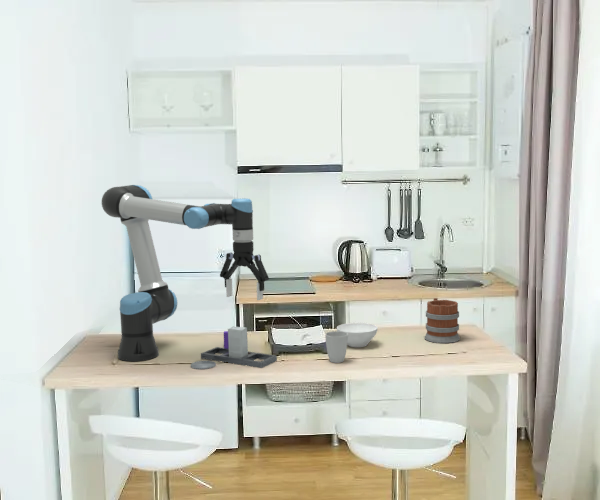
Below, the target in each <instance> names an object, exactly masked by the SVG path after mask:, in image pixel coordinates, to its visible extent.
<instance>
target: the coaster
mask: <svg viewBox="0 0 600 500" xmlns="http://www.w3.org/2000/svg"><path fill="white" fill-rule="evenodd" d="M216 366H217V363H216V361H214V360H197V361H194V362H192V363H190V368H191V369H194V370H208V369H213V368H215V367H216Z"/></svg>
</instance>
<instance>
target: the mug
mask: <svg viewBox="0 0 600 500" xmlns="http://www.w3.org/2000/svg"><path fill="white" fill-rule="evenodd" d="M458 304H459V303H458V302H457V301H456V300H455V301H454V300H449V299H438V297H433V300H428V301H427V302H426V306H427V307H426V311H425V317H426V323H425V329H426V333H425V335H424V339H425V340H426V341H427V342H430V343H432V344H433V343H436V344H453V343H457V342H458V341H460V339H461V337H460V335H459V333H458V331H459V330H460V324H459V322H458V320H459V319H458V318H460V311H459V305H458Z"/></svg>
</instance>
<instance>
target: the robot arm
mask: <svg viewBox="0 0 600 500" xmlns="http://www.w3.org/2000/svg"><path fill="white" fill-rule="evenodd" d="M101 197H102V198H101V207H102V209H103V211H104V212H105V213H106V215H108V216H110V217H112V218H117V219H118V218H119V219H120V222H121V224H122V225H123V226H125V227H126V231H127V234H128V235H127V236H128V240H129V244H130V247H131V251H132V256H133V260H134V264H135V268H136V271H137V275H138V279H139V283H140V284H139V285H140V287H139V289H138V290H137V291H136V292H132V293H128V294H125V295H123V296H122V298H121V299H120V302H119V314H120V330H121V331H120V332H121V339H120V342H119V346H118V349H117V358H118V359H119V360H120V361H124V362H140V361H141V362H142V361H148V360H152V359H154V358H157V357H158V356H159V355H160V354H159V353H160V351H159V346H157V343H156V338H155V337H154V332H153V331H154V328H153V326H154V325H153V324H157V323H158V322H161V321H165V320H168V319H169V318H170V317H172V316H173V315H174V314H175V313H176V310H177V308H178V298H177V295H176V294H175V292H173V291H172V290H171V289H170V288H169V285H168V283H167V282H166V281H164V280H163V277H162V272H161V269H160V266H159V261H158V257H157V253H156V249H155V245H154V240H153V236H152V232H151V227H150V224H149V221H156V222H163V223H169V224H177V225H181V226H187V227H188V228H189V229H192V230H200V229H204V228H208V227H212V226H216V225H231V226H232V241H233V242H232V251H233V252H227V253H226V255H225V256H226V257H225V261H224V263H223V266H222V269H221V271H220V274H219V277H220V278H222V279H224V288H226V293H225V294H226V298H230V297H233V278H232V276H233V274H234V273H235V271H236V270H237V268H238V267H244V268H245V267H247V269H249V270H250V271H251V273H252V275H253V276H254V277H255V279H256V280H257V282H256V300H257V301H260V300H263V299H264V297H263V295H264V292H263V291H265V282H267V281H269V280H270V277H269V275H268V273H267V270H266V268H265V266H264V263H263V261H262V256H261V255H260V254H256V255H254V249H255V248H254V241H253V240H254V227H253V225H254V224H253V223H254V222H253V218H254V217H253V216H254V215H253V212H254V210H253V201H252V199H250V198H245V197H244V198H243V197H242V198H233V199H232V200H231V203H215V202H213V203H205V204H204V205H201V206H199V205H192V204H188V203H187V204H186V203H181V202H180V203H179V202H172V201H167V200H166V201H165V200H159V199H153V196H152V194H151V192H150V191H149V189H147V188H146V187H144V186H142V185H138V184H129V185H122V186H112V187H111V188H108V189H107V190H106V191H105V192H104V193H103V194H102V196H101ZM233 260H234V261H233ZM232 262H233V263H232Z"/></svg>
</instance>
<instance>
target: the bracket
mask: <svg viewBox="0 0 600 500" xmlns="http://www.w3.org/2000/svg"><path fill="white" fill-rule="evenodd" d="M223 348H228V349H229V344H228V330H225V331H223Z"/></svg>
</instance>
